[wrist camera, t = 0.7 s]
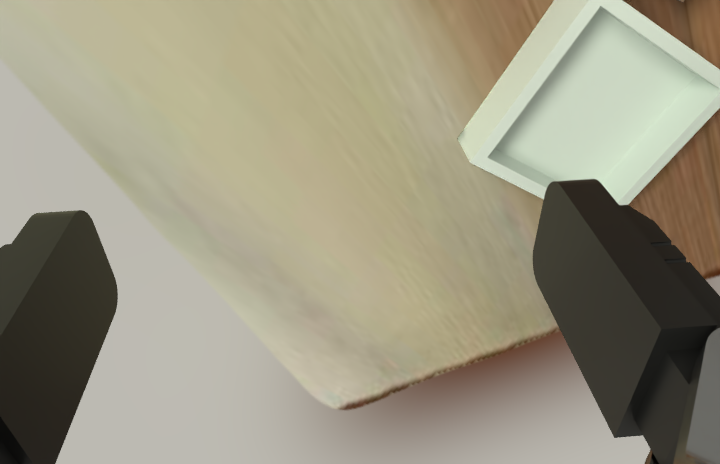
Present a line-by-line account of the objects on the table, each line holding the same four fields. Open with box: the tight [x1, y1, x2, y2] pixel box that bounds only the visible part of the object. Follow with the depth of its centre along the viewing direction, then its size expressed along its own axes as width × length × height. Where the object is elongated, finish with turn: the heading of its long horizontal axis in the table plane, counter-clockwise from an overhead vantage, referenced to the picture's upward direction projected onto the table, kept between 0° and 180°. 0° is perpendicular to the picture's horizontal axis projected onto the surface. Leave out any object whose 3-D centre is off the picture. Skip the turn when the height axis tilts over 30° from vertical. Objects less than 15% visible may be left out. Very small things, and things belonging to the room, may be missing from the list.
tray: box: [457, 0, 720, 205], centre depth 36 cm, size 12×12×4 cm
